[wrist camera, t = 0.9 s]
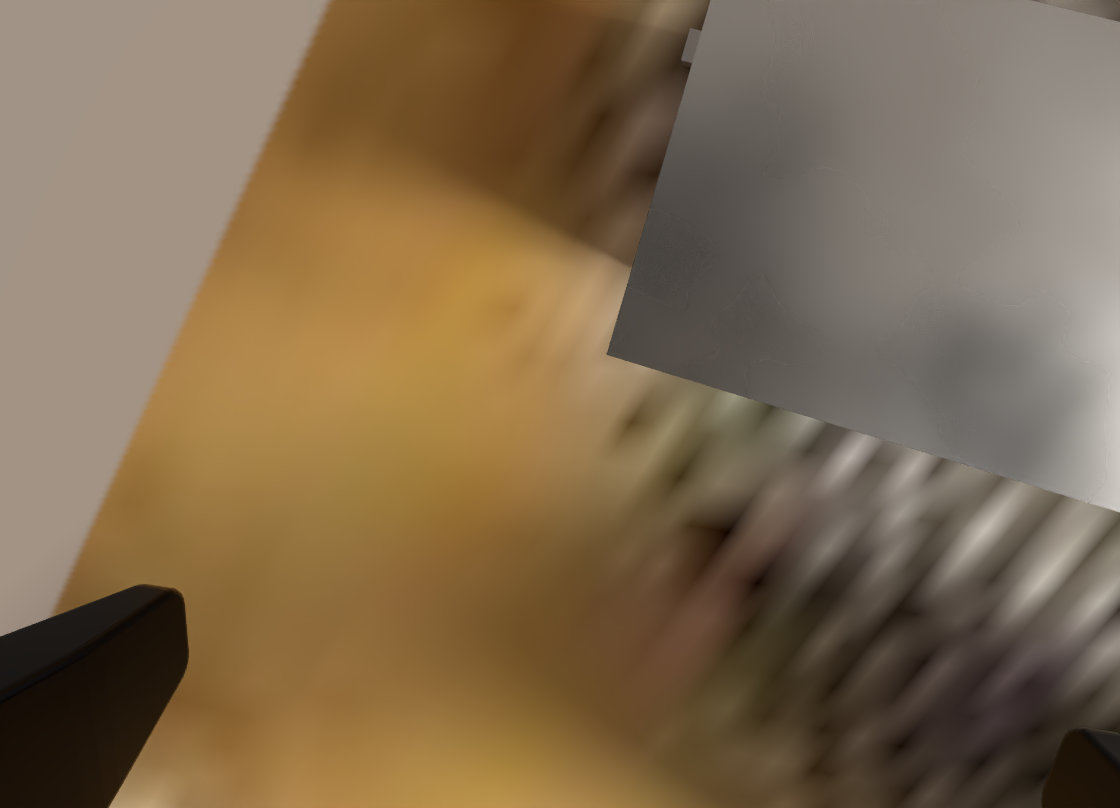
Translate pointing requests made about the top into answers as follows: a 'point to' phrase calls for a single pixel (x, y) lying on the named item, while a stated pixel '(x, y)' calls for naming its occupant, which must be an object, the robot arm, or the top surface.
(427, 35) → the top surface
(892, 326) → the block
